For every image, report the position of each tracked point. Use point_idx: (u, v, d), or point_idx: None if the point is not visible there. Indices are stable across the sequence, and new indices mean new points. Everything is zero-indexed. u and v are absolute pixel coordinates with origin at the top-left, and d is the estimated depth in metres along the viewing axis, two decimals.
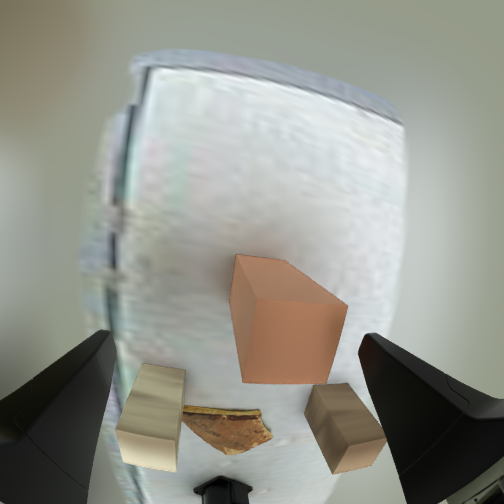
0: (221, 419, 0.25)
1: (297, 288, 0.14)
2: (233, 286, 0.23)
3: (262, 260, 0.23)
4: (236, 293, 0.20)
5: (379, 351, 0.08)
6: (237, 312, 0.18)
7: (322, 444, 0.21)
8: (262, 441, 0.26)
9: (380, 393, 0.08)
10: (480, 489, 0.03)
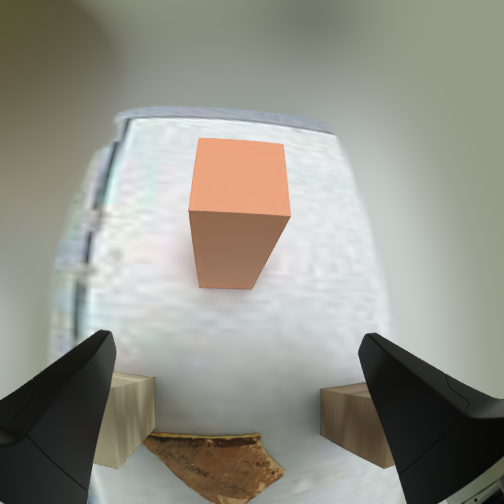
0: (205, 446, 0.17)
1: None
2: None
3: None
4: None
5: (379, 351, 0.08)
6: None
7: (354, 444, 0.14)
8: (271, 480, 0.16)
9: (380, 393, 0.08)
10: (480, 489, 0.03)
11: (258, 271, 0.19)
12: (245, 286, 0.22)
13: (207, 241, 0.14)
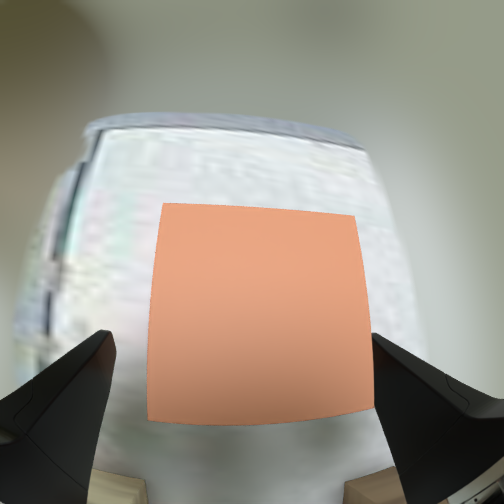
0: None
1: None
2: None
3: None
4: None
5: (379, 351, 0.08)
6: None
7: None
8: None
9: (380, 393, 0.08)
10: (480, 489, 0.03)
11: None
12: None
13: None
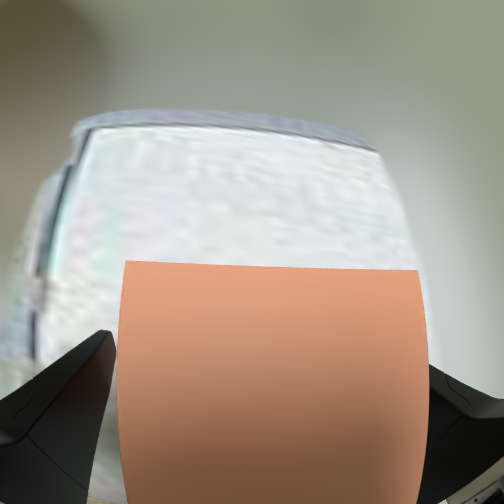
0: None
1: None
2: None
3: None
4: None
5: None
6: None
7: None
8: None
9: None
10: (480, 489, 0.03)
11: None
12: None
13: None
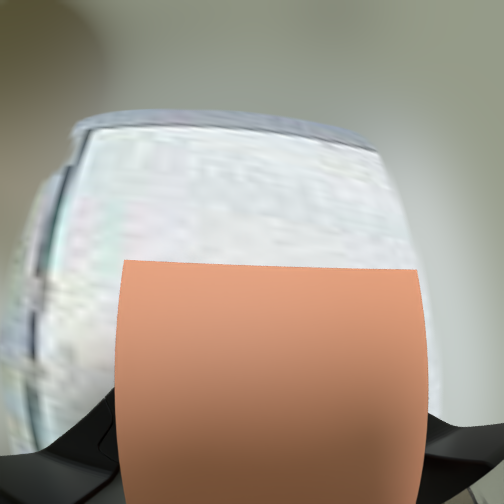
0: None
1: None
2: None
3: None
4: None
5: None
6: None
7: None
8: None
9: None
10: None
11: None
12: None
13: None
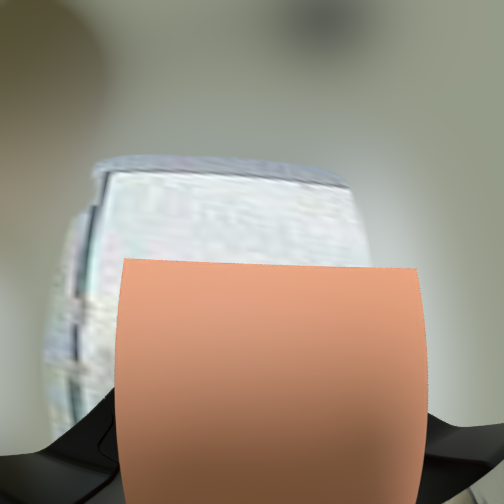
0: None
1: None
2: None
3: None
4: None
5: None
6: None
7: None
8: None
9: None
10: None
11: None
12: None
13: None
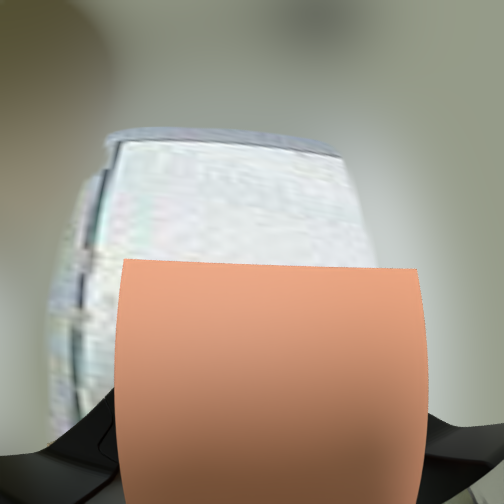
0: None
1: None
2: None
3: None
4: None
5: None
6: None
7: None
8: None
9: None
10: None
11: None
12: None
13: None
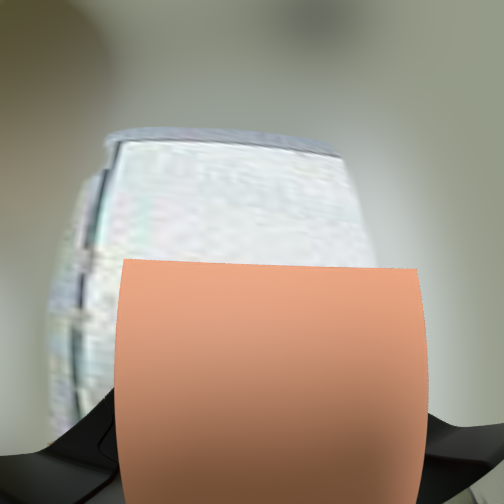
0: None
1: None
2: None
3: None
4: None
5: None
6: None
7: None
8: None
9: None
10: None
11: None
12: None
13: None
